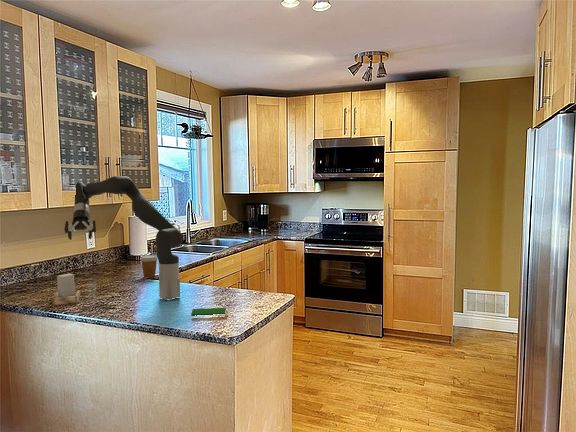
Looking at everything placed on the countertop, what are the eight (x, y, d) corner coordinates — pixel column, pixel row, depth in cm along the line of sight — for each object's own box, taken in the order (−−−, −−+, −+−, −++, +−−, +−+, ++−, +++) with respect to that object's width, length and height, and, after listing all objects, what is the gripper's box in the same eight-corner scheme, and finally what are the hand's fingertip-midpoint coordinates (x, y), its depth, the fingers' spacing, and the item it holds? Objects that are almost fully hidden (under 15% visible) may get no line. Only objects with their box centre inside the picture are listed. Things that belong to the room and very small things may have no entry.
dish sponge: (192, 314, 174) (192, 308, 174) (225, 313, 176) (225, 307, 176) (191, 320, 167) (190, 314, 167) (225, 318, 169) (225, 313, 169)
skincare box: (70, 297, 195) (69, 273, 194) (75, 299, 193) (74, 274, 192) (57, 301, 190) (56, 275, 189) (63, 302, 188) (61, 276, 187)
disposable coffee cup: (160, 275, 241) (160, 254, 240) (153, 279, 231) (153, 258, 230) (145, 274, 242) (144, 254, 241) (137, 278, 232) (137, 257, 231)
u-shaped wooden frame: (80, 296, 198) (79, 290, 197) (77, 302, 188) (77, 296, 187) (56, 298, 194) (56, 292, 194) (52, 305, 184) (52, 298, 184)
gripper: (65, 209, 209) (62, 234, 200) (95, 208, 214) (95, 233, 205) (67, 218, 215) (64, 243, 205) (96, 217, 220) (96, 242, 210)
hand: (80, 238), depth 205 cm, fingers open, 8 cm apart
